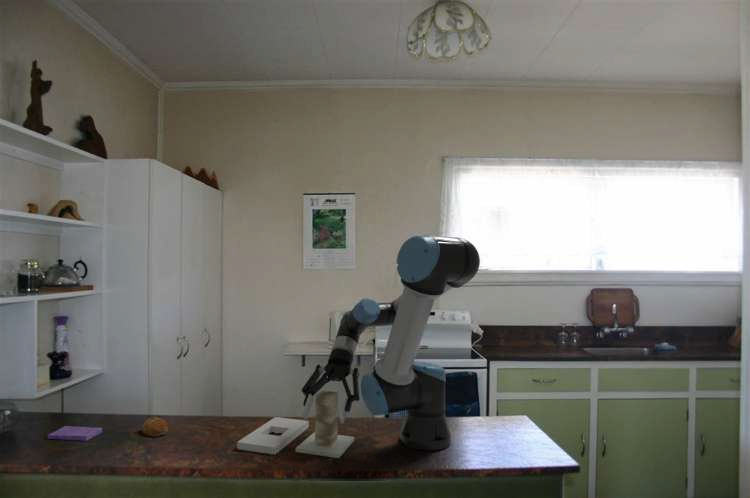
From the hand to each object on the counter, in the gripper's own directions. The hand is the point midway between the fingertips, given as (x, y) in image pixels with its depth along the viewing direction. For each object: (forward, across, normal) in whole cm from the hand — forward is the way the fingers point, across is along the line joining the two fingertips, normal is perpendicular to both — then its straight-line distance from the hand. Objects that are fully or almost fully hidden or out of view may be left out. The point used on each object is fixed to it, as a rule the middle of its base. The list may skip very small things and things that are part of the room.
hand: (322, 419), depth 127 cm
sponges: (+16, +75, +3) cm, 77 cm away
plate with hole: (+3, +17, -9) cm, 19 cm away
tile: (+4, 0, -8) cm, 9 cm away
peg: (+3, 0, -8) cm, 8 cm away
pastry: (+9, +54, -4) cm, 55 cm away
